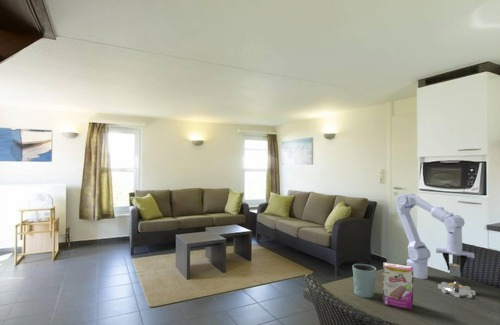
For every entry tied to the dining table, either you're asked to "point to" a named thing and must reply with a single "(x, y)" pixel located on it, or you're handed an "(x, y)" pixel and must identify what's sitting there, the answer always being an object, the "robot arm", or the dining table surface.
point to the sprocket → (456, 289)
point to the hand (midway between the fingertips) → (454, 270)
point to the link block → (455, 270)
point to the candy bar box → (398, 285)
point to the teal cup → (364, 280)
